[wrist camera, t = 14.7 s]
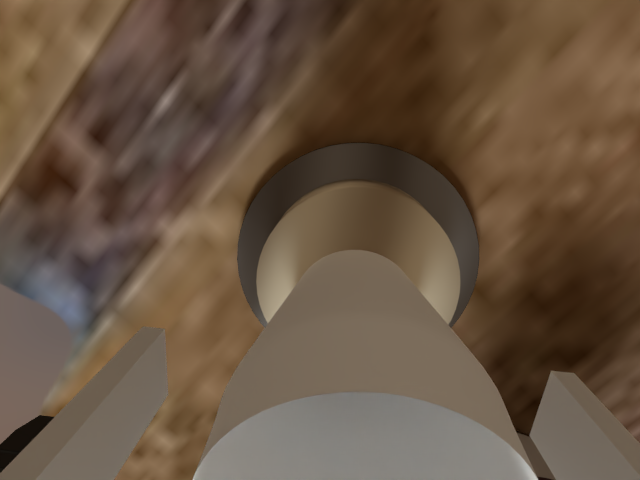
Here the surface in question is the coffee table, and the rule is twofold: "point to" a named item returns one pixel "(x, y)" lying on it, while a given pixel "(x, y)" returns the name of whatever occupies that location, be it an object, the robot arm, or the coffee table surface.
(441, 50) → the coffee table surface
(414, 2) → the coffee table surface
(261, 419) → the cup
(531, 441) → the coffee cup
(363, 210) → the pedestal
